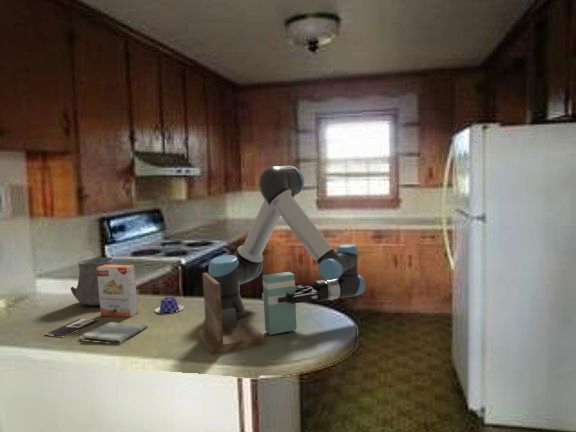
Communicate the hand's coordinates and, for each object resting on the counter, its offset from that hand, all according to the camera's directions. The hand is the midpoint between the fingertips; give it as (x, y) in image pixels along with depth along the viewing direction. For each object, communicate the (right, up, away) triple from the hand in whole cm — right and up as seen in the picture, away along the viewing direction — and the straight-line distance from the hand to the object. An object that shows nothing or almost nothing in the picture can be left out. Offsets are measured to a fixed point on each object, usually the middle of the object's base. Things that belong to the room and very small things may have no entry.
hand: (265, 299), depth 163 cm
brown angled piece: (-12, -14, -3) cm, 18 cm away
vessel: (-78, -11, +51) cm, 94 cm away
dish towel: (-56, -15, +9) cm, 59 cm away
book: (+5, -12, +3) cm, 13 cm away
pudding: (-43, -11, +36) cm, 57 cm away
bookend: (-15, -11, +2) cm, 19 cm away
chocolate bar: (-75, -15, +17) cm, 79 cm away
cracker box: (-62, -12, +32) cm, 71 cm away
